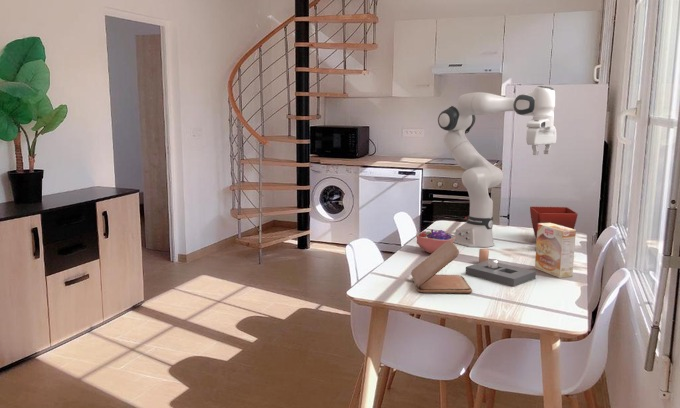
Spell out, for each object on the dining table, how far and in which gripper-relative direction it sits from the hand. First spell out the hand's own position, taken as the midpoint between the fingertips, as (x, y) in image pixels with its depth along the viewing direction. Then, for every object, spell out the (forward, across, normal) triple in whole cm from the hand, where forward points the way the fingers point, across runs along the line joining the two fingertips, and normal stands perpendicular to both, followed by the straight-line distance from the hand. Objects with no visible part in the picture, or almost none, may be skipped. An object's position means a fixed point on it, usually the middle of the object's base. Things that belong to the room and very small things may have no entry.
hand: (540, 154), depth 247 cm
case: (+47, +68, 0) cm, 83 cm away
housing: (+47, +40, +8) cm, 62 cm away
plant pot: (+47, -33, -9) cm, 58 cm away
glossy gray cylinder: (+47, +40, +4) cm, 62 cm away
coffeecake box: (+47, +18, +19) cm, 54 cm away
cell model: (+47, +30, -34) cm, 65 cm away
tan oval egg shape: (+47, +28, -8) cm, 55 cm away
